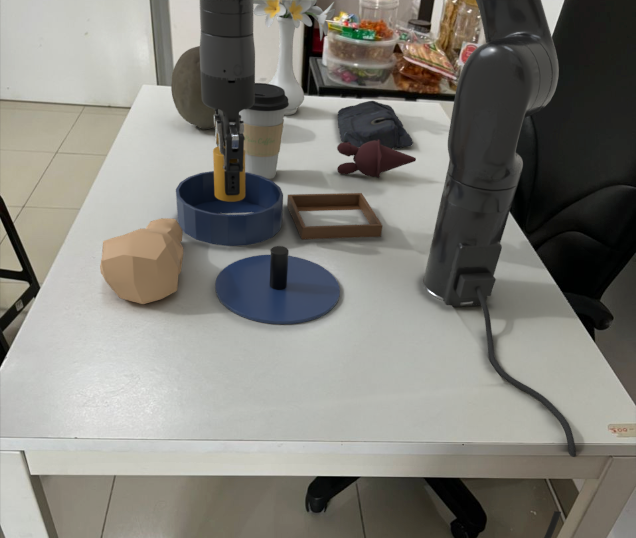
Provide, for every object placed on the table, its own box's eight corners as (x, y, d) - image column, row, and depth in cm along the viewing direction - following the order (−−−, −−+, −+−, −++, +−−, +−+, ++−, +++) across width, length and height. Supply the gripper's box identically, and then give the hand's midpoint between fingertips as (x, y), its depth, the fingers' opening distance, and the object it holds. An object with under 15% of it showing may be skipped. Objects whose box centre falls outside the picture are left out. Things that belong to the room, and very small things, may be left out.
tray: (380, 239, 105) (382, 225, 103) (301, 242, 102) (302, 228, 100) (360, 206, 114) (361, 192, 112) (286, 208, 111) (287, 194, 109)
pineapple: (247, 201, 100) (247, 141, 94) (216, 202, 99) (214, 141, 93) (242, 188, 103) (242, 129, 97) (212, 189, 102) (210, 129, 96)
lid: (353, 323, 86) (359, 281, 82) (223, 332, 82) (222, 288, 78) (323, 258, 99) (327, 218, 94) (209, 263, 95) (207, 222, 90)
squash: (97, 316, 83) (76, 250, 78) (134, 258, 100) (119, 200, 95) (179, 309, 83) (163, 242, 77) (203, 252, 99) (191, 193, 94)
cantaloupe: (222, 142, 130) (220, 62, 121) (161, 128, 134) (154, 49, 124) (252, 122, 141) (253, 46, 131) (194, 110, 144) (191, 35, 134)
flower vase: (323, 124, 143) (334, -6, 127) (241, 115, 144) (242, -16, 127) (327, 106, 153) (338, -17, 137) (251, 97, 153) (252, -27, 137)
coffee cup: (244, 188, 115) (244, 100, 105) (227, 167, 121) (226, 82, 112) (292, 183, 119) (297, 97, 109) (274, 163, 125) (277, 80, 115)
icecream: (415, 137, 123) (337, 137, 124) (419, 141, 117) (337, 141, 117) (412, 175, 127) (336, 175, 127) (416, 181, 120) (336, 180, 120)
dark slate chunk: (398, 116, 152) (402, 95, 149) (414, 151, 135) (418, 128, 132) (334, 112, 150) (336, 90, 147) (342, 147, 134) (344, 123, 131)
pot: (290, 246, 101) (291, 214, 97) (182, 251, 97) (180, 217, 93) (271, 200, 112) (272, 169, 109) (174, 202, 109) (172, 171, 105)
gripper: (195, 53, 93) (200, 169, 104) (206, 83, 83) (210, 208, 94) (246, 54, 95) (246, 168, 106) (263, 83, 85) (261, 206, 96)
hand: (229, 186), depth 100 cm, fingers closed on pineapple, 4 cm apart
